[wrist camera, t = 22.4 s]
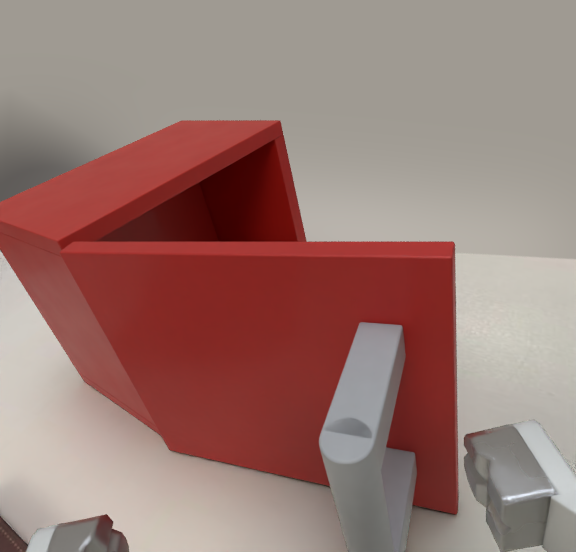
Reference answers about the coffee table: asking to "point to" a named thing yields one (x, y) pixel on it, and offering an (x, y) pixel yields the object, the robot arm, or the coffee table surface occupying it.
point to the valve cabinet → (146, 222)
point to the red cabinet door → (295, 363)
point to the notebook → (10, 539)
